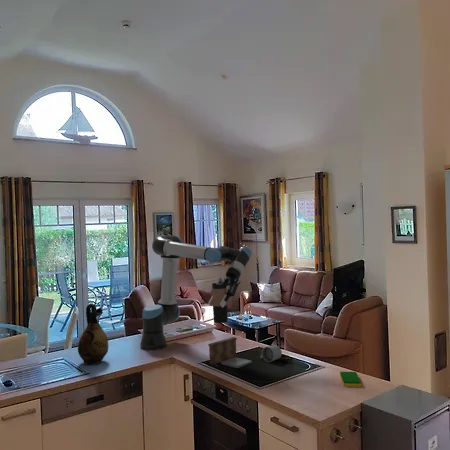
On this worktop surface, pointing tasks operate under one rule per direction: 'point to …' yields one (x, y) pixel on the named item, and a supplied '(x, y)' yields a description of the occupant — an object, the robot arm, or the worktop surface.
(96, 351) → the ceramic jug
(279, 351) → the ceramic mug
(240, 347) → the worktop surface
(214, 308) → the travel mug
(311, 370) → the worktop surface
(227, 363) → the slate tile
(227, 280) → the robot arm
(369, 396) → the worktop surface
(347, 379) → the dish sponge
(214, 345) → the walnut screen
